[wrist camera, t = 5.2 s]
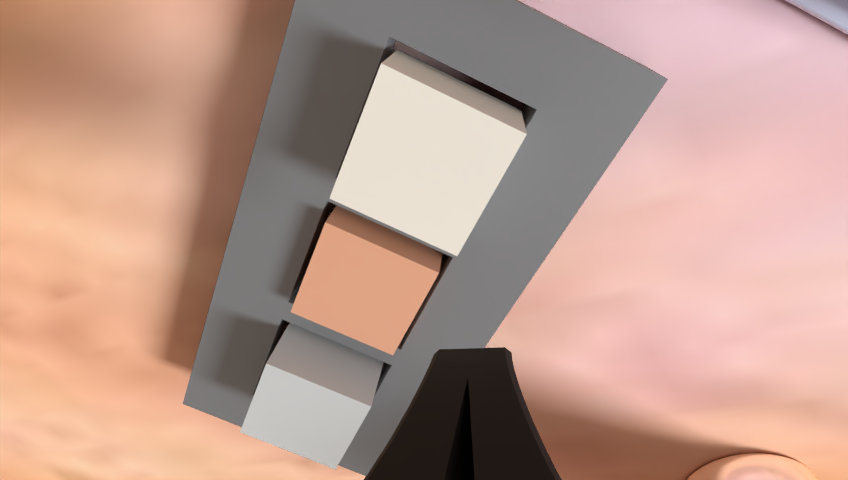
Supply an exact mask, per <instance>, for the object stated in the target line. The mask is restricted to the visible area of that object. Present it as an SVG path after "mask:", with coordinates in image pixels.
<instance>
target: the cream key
mask: <svg viewBox="0 0 848 480" xmlns="http://www.w3.org/2000/svg"><path fill="white" fill-rule="evenodd" d="M526 135H527V132H526V128H525V124H524V120H523V116H522V111H521V110H519V109H517V108H515V107H513V106H511V105H509V104H507V103H505V102H503V101H501V100H499V99H497V98H495V97H493V96H491V95H489V94H487V93H485V92H483V91H481V90H479V89H477V88H475V87H473V86H471V85H469V84H467V83H465V82H462V81H460V80H458V79H456V78H454V77H452V76H450V75H448V74H446V73H444V72H442V71H440V70H438V69H436V68H434V67H432V66H430V65H428V64H426V63H424V62H422V61H420V60H418V59H416V58H414V57H412V56H410V55H408V54H406V53H404V52H401V51H399V50H397V51H396V52H394V53H393V54H392V55H391V56H389V57H388V58H387V59H386V60H384V61H383V62H382V63H381V65H380V67H379V70H378V73H377V75H376V78H375V80H374V83H373V86H372V88H371V91H370V93H369V96H368V99H367V101H366V104H365V107H364V109H363V112H362V114H361V117H360V120H359V122H358V125H357V127H356V130H355V133H354V135H353V138H352V141H351V143H350V146H349V148H348V151H347V154H346V156H345V159H344V161H343V164H342V167H341V169H340V172H339V174H338V177H337V180H336V182H335V185H334V188H333V190H332V193H331V195H330V198H329V199H331V200H334V201H336V202H338V203H340V204H342V205H345V206H347V207H349V208H351V209H354V210H356V211H358V212H360V213H362V214H365V215H367V216H369V217H371V218H373V219H376V220H378V221H380V222H382V223H385V224H387V225H389V226H391V227H393V228H396V229H398V230H400V231H402V232H404V233H407V234H409V235H411V236H413V237H416V238H418V239H420V240H422V241H424V242H427V243H429V244H431V245H433V246H435V247H438V248H440V249H442V250H444V251H447V252H449V253H451V254H453V255H455V256H458V254H459V252H460V251H461V249H462V247H463V245H464V244H465V242H466V240H467V238H468V237H469V235H470V233H471V231H472V230H473V228H474V226H475V224H476V223H477V221H478V219H479V217H480V216H481V214H482V212H483V210H484V209H485V207H486V205H487V203H488V202H489V200H490V198H491V196H492V195H493V193H494V191H495V189H496V188H497V186H498V184H499V182H500V181H501V179H502V177H503V175H504V174H505V172H506V170H507V168H508V167H509V165H510V163H511V161H512V160H513V158H514V156H515V154H516V153H517V151H518V149H519V147H520V146H521V144H522V142H523V140H524V139H525V137H526Z"/></svg>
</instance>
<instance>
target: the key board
mask: <svg viewBox="0 0 848 480" xmlns="http://www.w3.org/2000/svg"><path fill="white" fill-rule="evenodd" d="M396 40H397V41H399V42H401V43H403V44H405V45H407V46H409V47H411V48H413V49H415V50H417V51H419V52H421V53H423V54H425V55H427V56H429V57H431V58H433V59H435V60H437V61H439V62H441V63H443V64H445V65H447V66H449V67H452V68H454V69H456V70H458V71H460V72H462V73H464V74H466V75H468V76H470V77H472V78H474V79H476V80H478V81H480V82H482V83H484V84H486V85H488V86H490V87H492V88H494V89H496V90H498V91H500V92H502V93H504V94H506V95H508V96H510V97H512V98H514V99H516V100H518V101H520V102H522V103H524V104H526V106H525V108H524V109H523V111H522V116H523V120H524V124H525V128H526V132H527V135H526V137H525V139H524V140H523V142H522V144H521V146H520V147H519V149H518V151H517V153H516V154H515V156H514V158H513V160H512V161H511V163H510V165H509V167H508V168H507V170H506V172H505V174H504V175H503V177H502V179H501V181H500V182H499V184H498V186H497V188H496V189H495V191H494V193H493V195H492V196H491V198H490V200H489V202H488V203H487V205H486V207H485V209H484V210H483V212H482V214H481V216H480V217H479V219H478V221H477V223H476V224H475V226H474V228H473V230H472V231H471V233H470V235H469V237H468V238H467V240H466V242H465V244H464V245H463V247H462V249H461V251H460V252H459V254H458V256H455V255H453V254H451V253H449V252H447V251H444V250H442V249H440V248H438V247H435V246H433V245H431V244H429V243H427V242H424V241H422V240H420V239H418V238H416V237H413V236H411V235H409V234H407V233H404V232H402V231H400V230H398V229H396V228H393V227H391V226H389V225H387V224H385V223H382V222H380V221H378V220H376V219H373V218H371V217H369V216H367V215H365V214H362V213H360V212H358V211H356V210H354V209H351V208H349V207H347V206H345V205H342V204H340V203H338V202H336V201H334V200H331V199H329V198H330V195H331V193H332V190H333V188H334V185H335V182H336V180H337V177H338V174H339V172H340V169H341V167H342V164H343V161H344V159H345V156H346V154H347V151H348V148H349V146H350V143H351V141H352V138H353V135H354V133H355V130H356V127H357V125H358V122H359V120H360V117H361V114H362V112H363V109H364V107H365V104H366V101H367V99H368V96H369V93H370V91H371V88H372V86H373V83H374V80H375V78H376V75H377V73H378V70H379V67H380V65H381V63H382V62H383V61H384V60H386V59H387V58H388V57H389V56H390V55H391V53H392V50H393V48H394V45H395V43H396ZM667 80H668V79H667V78H665V77H663V76H661V75H660V74H658V73H656V72H655V71H653V70H651V69H649V68H648V67H646V66H644V65H642V64H640V63H638V62H636V61H634V60H632V59H630V58H628V57H626V56H624V55H623V54H621V53H619V52H617V51H615V50H613V49H611V48H609V47H607V46H605V45H603V44H601V43H599V42H597V41H595V40H594V39H592V38H590V37H588V36H586V35H584V34H582V33H580V32H578V31H576V30H574V29H572V28H570V27H568V26H566V25H564V24H563V23H561V22H559V21H557V20H555V19H553V18H551V17H549V16H547V15H545V14H543V13H541V12H539V11H537V10H535V9H533V8H532V7H530V6H528V5H526V4H524V3H522V2H520V1H518V0H295V2H294V6H293V9H292V13H291V17H290V20H289V24H288V27H287V31H286V35H285V38H284V42H283V45H282V49H281V53H280V56H279V60H278V63H277V67H276V71H275V74H274V78H273V81H272V85H271V89H270V92H269V96H268V99H267V103H266V107H265V110H264V114H263V117H262V121H261V124H260V128H259V132H258V135H257V139H256V142H255V146H254V150H253V153H252V157H251V160H250V164H249V168H248V171H247V175H246V178H245V182H244V186H243V189H242V193H241V196H240V200H239V204H238V207H237V211H236V214H235V218H234V222H233V225H232V229H231V232H230V236H229V240H228V243H227V247H226V250H225V254H224V258H223V261H222V265H221V268H220V272H219V276H218V279H217V283H216V286H215V290H214V294H213V297H212V301H211V304H210V308H209V312H208V315H207V319H206V322H205V326H204V330H203V333H202V337H201V340H200V344H199V347H198V351H197V355H196V358H195V362H194V365H193V369H192V373H191V376H190V380H189V383H188V387H187V391H186V394H185V398H184V401H183V404H185V405H187V406H190V407H192V408H195V409H197V410H200V411H202V412H205V413H207V414H210V415H213V416H215V417H218V418H220V419H223V420H225V421H228V422H230V423H233V424H235V425H238V426H240V427H242V425H243V423H244V420H245V418H246V415H247V412H248V410H249V407H250V404H251V402H252V399H253V397H254V394H255V391H256V389H257V386H258V384H259V381H260V378H261V376H262V373H263V370H264V368H265V365H266V363H267V361H268V359H269V358H270V356H271V354H272V352H273V351H274V349H275V347H276V346H277V344H278V342H279V340H280V338H281V336H282V333H283V330H284V328H285V325H286V323H287V322H290V323H292V324H295V325H297V326H299V327H302V328H304V329H306V330H309V331H311V332H314V333H316V334H318V335H321V336H323V337H325V338H328V339H330V340H333V341H335V342H337V343H340V344H342V345H344V346H347V347H349V348H352V349H354V350H356V351H359V352H361V353H364V354H366V355H368V356H371V357H373V358H375V359H378V360H380V361H383V362H384V363H383V366H382V370H381V373H380V377H379V381H378V384H377V388H376V392H375V395H374V399H373V403H372V406H371V408H370V410H369V412H368V413H367V415H366V417H365V419H364V420H363V422H362V424H361V426H360V427H359V429H358V431H357V433H356V434H355V436H354V438H353V440H352V441H351V443H350V445H349V447H348V448H347V450H346V452H345V454H344V455H343V457H342V459H341V461H340V462H339V464H338V465H339V466H342V467H345V468H347V469H350V470H352V471H355V472H357V473H360V474H362V475H365V476H367V474H368V473H369V471H370V470H371V468H372V466H373V465H374V463H375V462H376V460H377V459H378V457H379V456H380V454H381V453H382V451H383V450H384V448H385V446H386V445H387V443H388V442H389V440H390V438H391V437H392V435H393V433H394V431H395V430H396V428H397V426H398V424H399V423H400V421H401V419H402V417H403V416H404V414H405V412H406V411H407V409H408V407H409V405H410V403H411V401H412V399H413V398H414V396H415V394H416V392H417V390H418V388H419V386H420V384H421V382H422V380H423V378H424V376H425V374H426V371H427V369H428V367H429V365H430V363H431V360H432V358H433V355H434V354H435V353H436V352H437V351H438V350H439V349H468V348H484V347H485V346H486V344H487V343H488V342H489V340H490V339H491V337H492V336H493V334H494V333H495V331H496V330H497V328H498V327H499V325H500V324H501V323H502V321H503V320H504V318H505V317H506V315H507V314H508V312H509V311H510V309H511V308H512V306H513V305H514V304H515V302H516V301H517V299H518V298H519V296H520V295H521V293H522V292H523V290H524V289H525V287H526V286H527V285H528V283H529V282H530V280H531V279H532V277H533V276H534V274H535V273H536V271H537V270H538V268H539V267H540V265H541V264H542V263H543V261H544V260H545V258H546V257H547V255H548V254H549V252H550V251H551V249H552V248H553V246H554V245H555V244H556V242H557V241H558V239H559V238H560V236H561V235H562V233H563V232H564V230H565V229H566V227H567V226H568V225H569V223H570V222H571V220H572V219H573V217H574V216H575V214H576V213H577V211H578V210H579V208H580V207H581V206H582V204H583V203H584V201H585V200H586V198H587V197H588V195H589V194H590V192H591V191H592V189H593V188H594V186H595V185H596V184H597V182H598V181H599V179H600V178H601V176H602V175H603V173H604V172H605V170H606V169H607V167H608V166H609V165H610V163H611V162H612V160H613V159H614V157H615V156H616V154H617V153H618V151H619V150H620V148H621V147H622V146H623V144H624V143H625V141H626V140H627V138H628V137H629V135H630V134H631V132H632V131H633V129H634V128H635V127H636V125H637V124H638V122H639V121H640V119H641V118H642V116H643V115H644V113H645V112H646V110H647V109H648V107H649V106H650V105H651V103H652V102H653V100H654V99H655V97H656V96H657V94H658V93H659V91H660V90H661V88H662V87H663V86H664V84H665V83H666V81H667ZM332 204H335V205H337V206H340V207H342V208H344V209H346V210H349V211H351V212H353V213H355V214H357V215H360V216H362V217H364V218H366V219H368V220H371V221H373V222H375V223H377V224H380V225H382V226H384V227H386V228H388V229H391V230H393V231H395V232H397V233H400V234H402V235H404V236H406V237H408V238H411V239H413V240H415V241H417V242H419V243H422V244H424V245H426V246H428V247H431V248H433V249H435V250H437V251H439V252H442V253H444V254H443V256H442V259H441V265H440V271H439V274H438V276H437V278H436V280H435V281H434V283H433V285H432V287H431V289H430V290H429V292H428V294H427V296H426V297H425V299H424V301H423V303H422V305H421V306H420V308H419V310H418V312H417V314H416V315H415V317H414V319H413V321H412V322H411V324H410V326H409V328H408V330H407V331H406V333H405V335H404V337H403V339H402V340H401V342H400V344H399V346H398V347H397V349H396V351H395V353H394V355H391V354H388V353H386V352H384V351H381V350H379V349H377V348H374V347H372V346H370V345H367V344H365V343H362V342H360V341H358V340H355V339H353V338H351V337H348V336H346V335H344V334H341V333H339V332H336V331H334V330H332V329H329V328H327V327H325V326H322V325H320V324H318V323H315V322H313V321H310V320H308V319H306V318H303V317H301V316H299V315H296V314H294V313H292V312H291V309H292V307H293V304H294V301H295V299H296V296H297V294H298V291H299V289H300V286H301V283H302V281H303V278H304V276H305V273H306V271H307V268H308V265H309V263H310V260H311V258H312V255H313V253H314V250H315V247H316V245H317V242H318V240H319V237H320V235H321V232H322V229H323V227H324V224H325V222H326V220H327V217H328V215H329V212H330V210H331V207H332Z"/></svg>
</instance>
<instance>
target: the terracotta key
mask: <svg viewBox="0 0 848 480" xmlns="http://www.w3.org/2000/svg"><path fill="white" fill-rule="evenodd" d="M441 259H442V252H439V251H437V250H435V249H433V248H431V247H428V246H426V245H424V244H422V243H419V242H417V241H415V240H413V239H411V238H408V237H406V236H404V235H402V234H400V233H397V232H395V231H393V230H391V229H388V228H386V227H384V226H382V225H380V224H377V223H375V222H373V221H371V220H368V219H366V218H364V217H362V216H360V215H357V214H355V213H353V212H351V211H349V210H346V209H344V208H342V207H340V206H337V205H336V207H335V208H334V210H333V211H332V213H331V214H330V216H329V217H328V219H327V220H326V222H325V224H324V227H323V229H322V232H321V235H320V237H319V240H318V242H317V245H316V247H315V250H314V253H313V255H312V258H311V260H310V263H309V265H308V268H307V271H306V273H305V276H304V278H303V281H302V283H301V286H300V289H299V291H298V294H297V296H296V299H295V301H294V304H293V307H292V309H291V312H292V313H294V314H296V315H299V316H301V317H303V318H306V319H308V320H310V321H313V322H315V323H318V324H320V325H322V326H325V327H327V328H329V329H332V330H334V331H336V332H339V333H341V334H344V335H346V336H348V337H351V338H353V339H355V340H358V341H360V342H362V343H365V344H367V345H370V346H372V347H374V348H377V349H379V350H381V351H384V352H386V353H388V354H391V355H394V353H395V351H396V349H397V347H398V346H399V344H400V342H401V340H402V339H403V337H404V335H405V333H406V331H407V330H408V328H409V326H410V324H411V322H412V321H413V319H414V317H415V315H416V314H417V312H418V310H419V308H420V306H421V305H422V303H423V301H424V299H425V297H426V296H427V294H428V292H429V290H430V289H431V287H432V285H433V283H434V281H435V280H436V278H437V276H438V274H439V271H440V265H441Z"/></svg>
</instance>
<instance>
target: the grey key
mask: <svg viewBox="0 0 848 480" xmlns="http://www.w3.org/2000/svg"><path fill="white" fill-rule="evenodd" d="M382 366H383V361H380V360H378V359H375V358H373V357H371V356H368V355H366V354H364V353H361V352H359V351H356V350H354V349H352V348H349V347H347V346H344V345H342V344H340V343H337V342H335V341H333V340H330V339H328V338H325V337H323V336H321V335H318V334H316V333H314V332H311V331H309V330H306V329H304V328H302V327H299V326H297V325H295V324H292V323H289V325H288V326H287V328H286V330H285V332H284V333H283V335H282V337H281V339H280V340H279V342H278V344H277V346H276V347H275V349H274V351H273V352H272V354H271V356H270V358H269V359H268V361H267V363H266V365H265V368H264V370H263V373H262V376H261V378H260V381H259V384H258V386H257V389H256V391H255V394H254V397H253V399H252V402H251V404H250V407H249V410H248V412H247V415H246V418H245V420H244V423H243V425H242V428H241V431H240V432H241V433H244V434H246V435H249V436H251V437H254V438H257V439H259V440H262V441H264V442H267V443H269V444H272V445H274V446H277V447H279V448H282V449H285V450H287V451H290V452H292V453H295V454H297V455H300V456H302V457H305V458H307V459H310V460H313V461H315V462H318V463H320V464H323V465H325V466H328V467H330V468H333V469H336V468H337V466H338V464H339V462H340V461H341V459H342V457H343V455H344V454H345V452H346V450H347V448H348V447H349V445H350V443H351V441H352V440H353V438H354V436H355V434H356V433H357V431H358V429H359V427H360V426H361V424H362V422H363V420H364V419H365V417H366V415H367V413H368V412H369V410H370V408H371V406H372V403H373V399H374V395H375V392H376V388H377V384H378V381H379V377H380V373H381V370H382Z"/></svg>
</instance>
